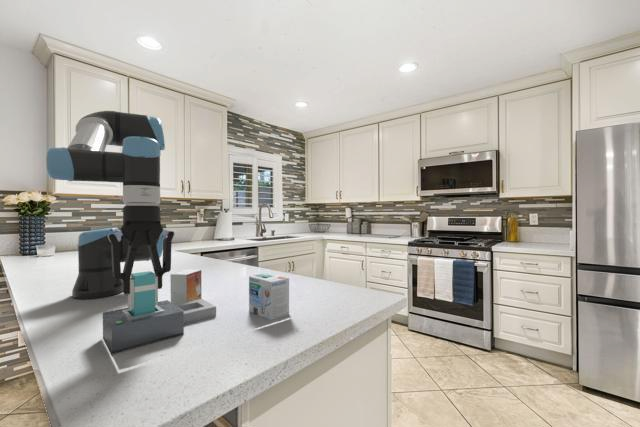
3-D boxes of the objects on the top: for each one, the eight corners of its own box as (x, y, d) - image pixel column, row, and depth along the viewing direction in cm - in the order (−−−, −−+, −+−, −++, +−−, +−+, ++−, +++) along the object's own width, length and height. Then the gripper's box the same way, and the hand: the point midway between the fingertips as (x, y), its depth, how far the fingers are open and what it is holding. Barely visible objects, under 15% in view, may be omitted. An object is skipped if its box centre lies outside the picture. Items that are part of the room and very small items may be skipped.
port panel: (102, 338, 70) (102, 310, 70) (167, 322, 79) (167, 298, 79) (112, 356, 61) (111, 325, 61) (183, 336, 70) (183, 309, 70)
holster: (166, 316, 84) (166, 306, 83) (201, 308, 90) (201, 298, 90) (178, 327, 76) (178, 315, 76) (216, 317, 83) (216, 306, 83)
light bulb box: (248, 313, 87) (247, 275, 86) (267, 307, 92) (266, 272, 91) (271, 322, 79) (270, 281, 79) (290, 315, 84) (290, 277, 84)
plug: (131, 324, 70) (130, 273, 70) (150, 320, 73) (150, 271, 73) (135, 329, 67) (134, 276, 67) (155, 325, 70) (155, 273, 70)
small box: (186, 309, 90) (186, 274, 90) (170, 308, 91) (169, 274, 91) (202, 301, 97) (202, 269, 97) (186, 300, 99) (186, 269, 98)
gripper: (99, 204, 61) (100, 318, 61) (186, 205, 73) (187, 301, 73) (94, 205, 67) (95, 309, 67) (175, 205, 78) (176, 294, 78)
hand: (143, 305), depth 70 cm, fingers closed on plug, 4 cm apart
